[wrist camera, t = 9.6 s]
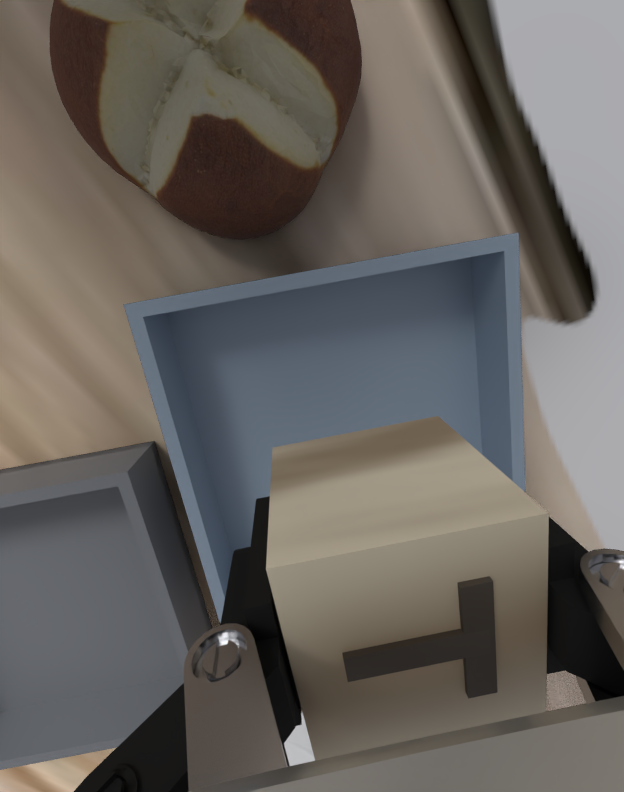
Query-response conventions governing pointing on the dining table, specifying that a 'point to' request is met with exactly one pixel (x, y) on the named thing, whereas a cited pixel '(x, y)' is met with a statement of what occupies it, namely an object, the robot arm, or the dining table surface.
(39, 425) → the dining table surface
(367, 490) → the letter cube
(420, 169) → the dining table surface
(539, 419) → the dining table surface
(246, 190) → the bread
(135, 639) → the charcoal bin
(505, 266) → the slate bin
